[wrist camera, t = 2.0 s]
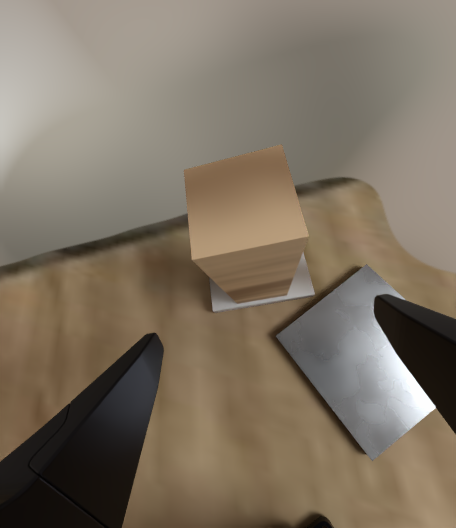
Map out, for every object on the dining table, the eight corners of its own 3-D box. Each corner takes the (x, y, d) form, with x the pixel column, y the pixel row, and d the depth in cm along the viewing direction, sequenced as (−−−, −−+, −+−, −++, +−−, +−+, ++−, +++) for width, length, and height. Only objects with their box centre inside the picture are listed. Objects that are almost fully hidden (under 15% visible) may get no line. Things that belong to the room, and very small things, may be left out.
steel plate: (471, 367, 16) (481, 368, 15) (367, 455, 16) (372, 461, 15) (363, 267, 20) (366, 264, 19) (275, 336, 19) (275, 336, 18)
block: (312, 296, 20) (380, 230, 7) (216, 312, 21) (136, 278, 9) (298, 246, 21) (335, 124, 9) (210, 264, 23) (137, 176, 10)
